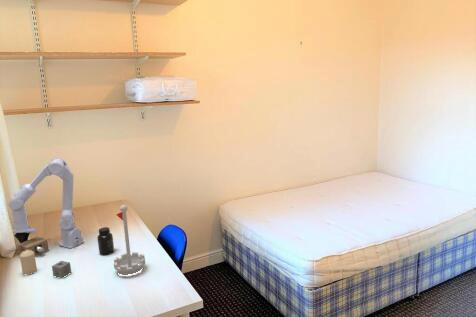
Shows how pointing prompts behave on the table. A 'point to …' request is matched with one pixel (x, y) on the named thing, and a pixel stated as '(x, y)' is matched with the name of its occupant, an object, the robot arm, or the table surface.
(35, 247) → the pin
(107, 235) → the supplement bottle
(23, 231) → the robot arm
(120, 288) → the table surface
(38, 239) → the block
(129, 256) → the flag stand
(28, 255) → the candle
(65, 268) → the dice cube
